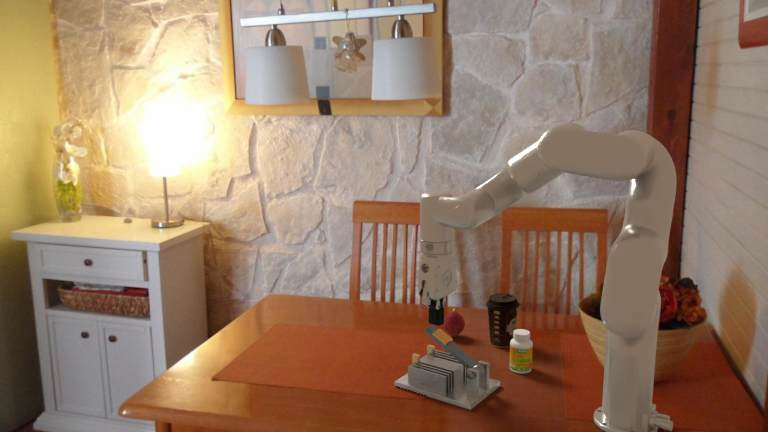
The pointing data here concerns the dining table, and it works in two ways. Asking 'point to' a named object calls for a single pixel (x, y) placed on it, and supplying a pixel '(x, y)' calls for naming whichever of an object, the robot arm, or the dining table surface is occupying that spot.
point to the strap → (454, 349)
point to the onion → (454, 323)
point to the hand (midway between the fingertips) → (436, 323)
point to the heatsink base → (447, 379)
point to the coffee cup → (502, 319)
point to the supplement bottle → (521, 352)
